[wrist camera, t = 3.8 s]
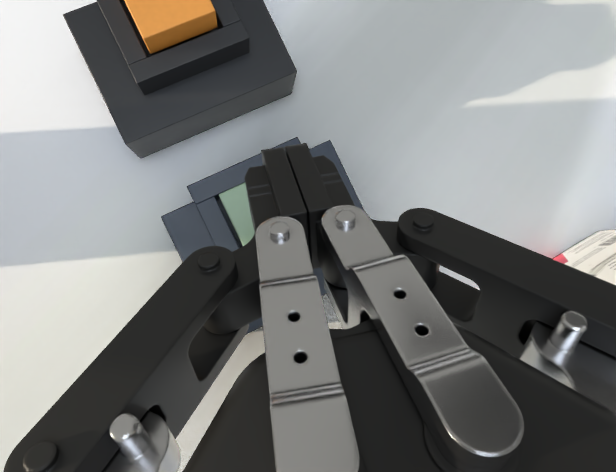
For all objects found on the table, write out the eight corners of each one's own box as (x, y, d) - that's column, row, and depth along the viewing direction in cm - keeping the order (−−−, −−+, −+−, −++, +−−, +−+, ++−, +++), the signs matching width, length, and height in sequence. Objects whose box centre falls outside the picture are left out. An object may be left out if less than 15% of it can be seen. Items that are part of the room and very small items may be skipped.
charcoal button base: (140, 158, 32) (116, 135, 26) (81, 36, 32) (43, -15, 26) (291, 93, 34) (301, 58, 28) (235, -23, 34) (232, -84, 28)
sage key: (252, 264, 27) (252, 265, 25) (220, 198, 27) (218, 194, 25) (317, 233, 28) (322, 231, 26) (286, 168, 28) (288, 162, 26)
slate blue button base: (226, 335, 32) (221, 352, 26) (167, 213, 32) (148, 203, 26) (372, 261, 34) (399, 261, 28) (316, 145, 34) (331, 121, 28)
